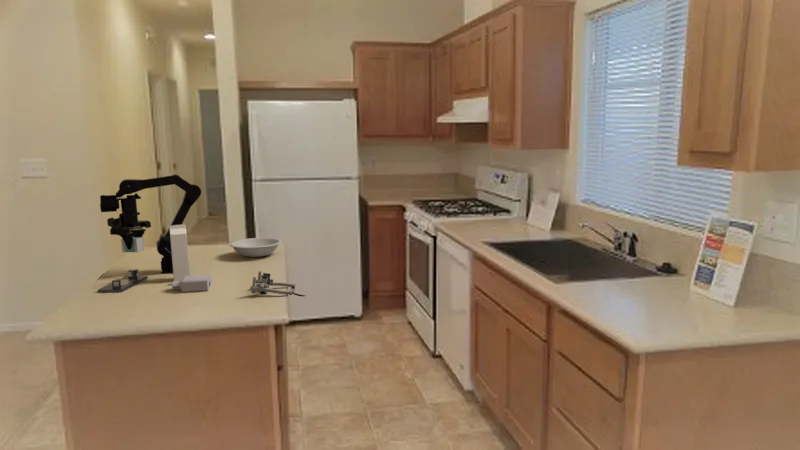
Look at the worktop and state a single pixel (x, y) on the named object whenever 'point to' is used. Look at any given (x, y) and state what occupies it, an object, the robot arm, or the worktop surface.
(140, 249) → the block
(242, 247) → the soup bowl
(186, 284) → the charger
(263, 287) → the bike brake
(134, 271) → the shaft stand
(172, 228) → the milk
